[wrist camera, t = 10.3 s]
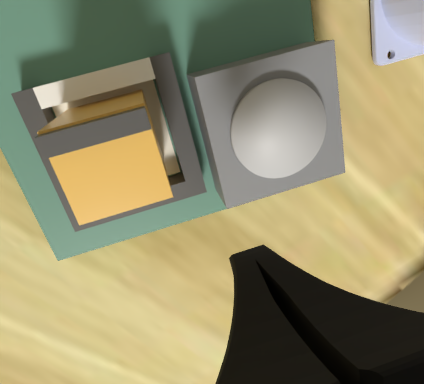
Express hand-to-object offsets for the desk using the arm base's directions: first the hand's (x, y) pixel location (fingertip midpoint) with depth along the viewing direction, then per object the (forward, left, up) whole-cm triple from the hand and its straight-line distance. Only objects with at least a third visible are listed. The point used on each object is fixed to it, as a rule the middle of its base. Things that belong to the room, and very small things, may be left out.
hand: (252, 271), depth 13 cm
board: (+1, -6, -10) cm, 12 cm away
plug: (+4, -4, -9) cm, 11 cm away
